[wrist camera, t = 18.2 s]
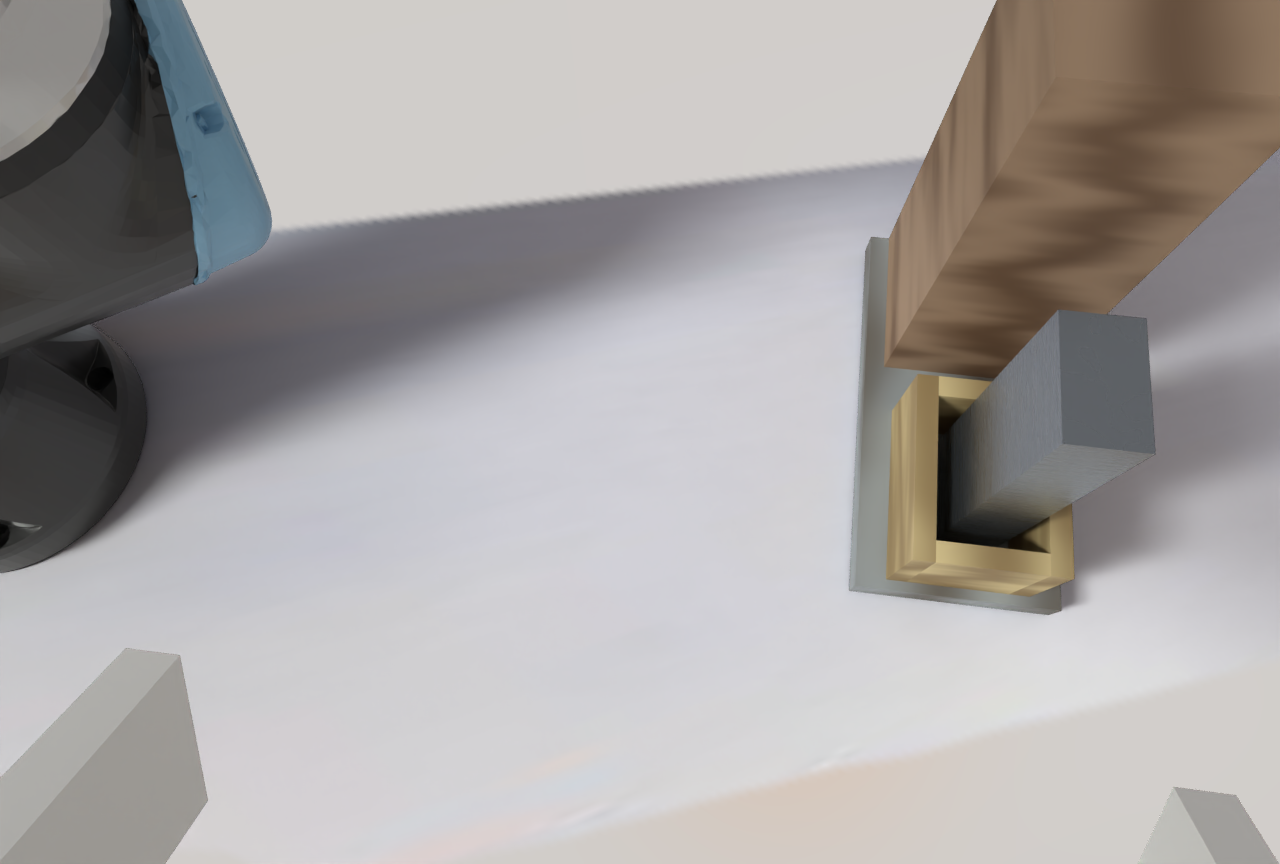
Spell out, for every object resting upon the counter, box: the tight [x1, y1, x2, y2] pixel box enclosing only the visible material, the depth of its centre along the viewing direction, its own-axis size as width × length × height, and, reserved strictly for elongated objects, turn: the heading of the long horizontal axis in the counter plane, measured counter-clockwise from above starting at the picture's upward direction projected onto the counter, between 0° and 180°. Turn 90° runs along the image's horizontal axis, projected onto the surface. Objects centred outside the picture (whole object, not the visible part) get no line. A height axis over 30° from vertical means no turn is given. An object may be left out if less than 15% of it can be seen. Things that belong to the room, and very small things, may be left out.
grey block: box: [936, 309, 1155, 547], centre depth 38 cm, size 3×5×16 cm, turn 173°
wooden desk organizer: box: [849, 0, 1280, 615], centre depth 37 cm, size 10×20×24 cm, turn 173°
